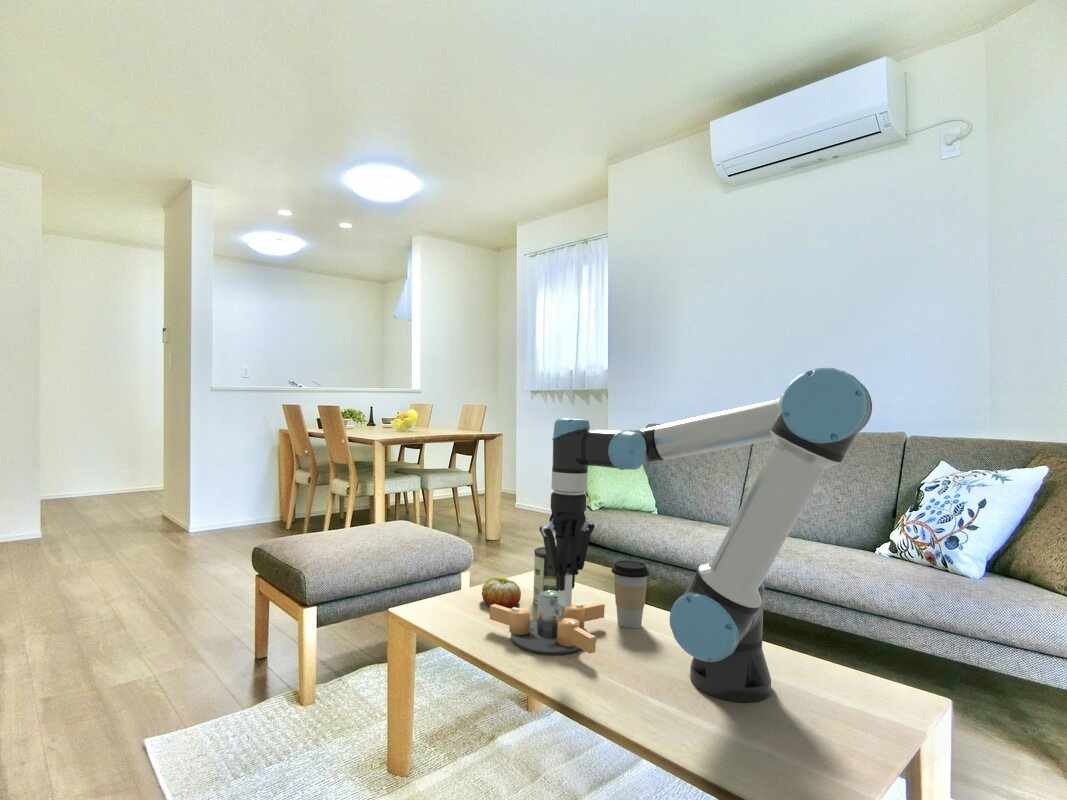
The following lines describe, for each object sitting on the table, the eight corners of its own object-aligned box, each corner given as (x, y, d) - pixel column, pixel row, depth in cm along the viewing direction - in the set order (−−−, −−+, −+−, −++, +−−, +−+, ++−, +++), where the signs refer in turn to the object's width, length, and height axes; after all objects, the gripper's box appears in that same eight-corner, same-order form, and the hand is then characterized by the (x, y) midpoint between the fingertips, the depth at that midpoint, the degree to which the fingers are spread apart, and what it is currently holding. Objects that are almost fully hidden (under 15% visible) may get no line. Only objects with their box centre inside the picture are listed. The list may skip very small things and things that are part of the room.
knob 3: (552, 640, 126) (553, 618, 126) (570, 636, 128) (570, 614, 128) (583, 659, 116) (583, 635, 117) (601, 654, 119) (601, 631, 119)
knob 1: (534, 630, 131) (534, 609, 131) (521, 636, 127) (521, 615, 127) (498, 618, 138) (498, 599, 138) (485, 624, 134) (485, 603, 134)
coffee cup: (656, 626, 140) (657, 566, 141) (628, 634, 135) (630, 571, 136) (629, 615, 148) (630, 557, 149) (602, 621, 143) (603, 562, 143)
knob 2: (572, 631, 131) (572, 610, 131) (560, 624, 135) (560, 604, 136) (608, 622, 137) (608, 602, 137) (595, 616, 141) (596, 597, 141)
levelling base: (599, 634, 135) (601, 587, 135) (569, 662, 119) (571, 609, 119) (532, 619, 143) (534, 575, 143) (496, 644, 127) (497, 594, 127)
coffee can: (576, 600, 159) (577, 550, 159) (557, 610, 150) (559, 557, 150) (545, 593, 164) (546, 544, 165) (525, 602, 156) (527, 551, 156)
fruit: (471, 603, 152) (477, 573, 155) (494, 605, 161) (499, 576, 163) (504, 611, 146) (510, 579, 148) (526, 613, 154) (531, 582, 157)
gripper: (582, 488, 125) (578, 595, 125) (533, 490, 118) (528, 604, 118) (604, 493, 119) (600, 605, 118) (553, 496, 112) (548, 615, 111)
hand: (564, 604), depth 118 cm, fingers closed
